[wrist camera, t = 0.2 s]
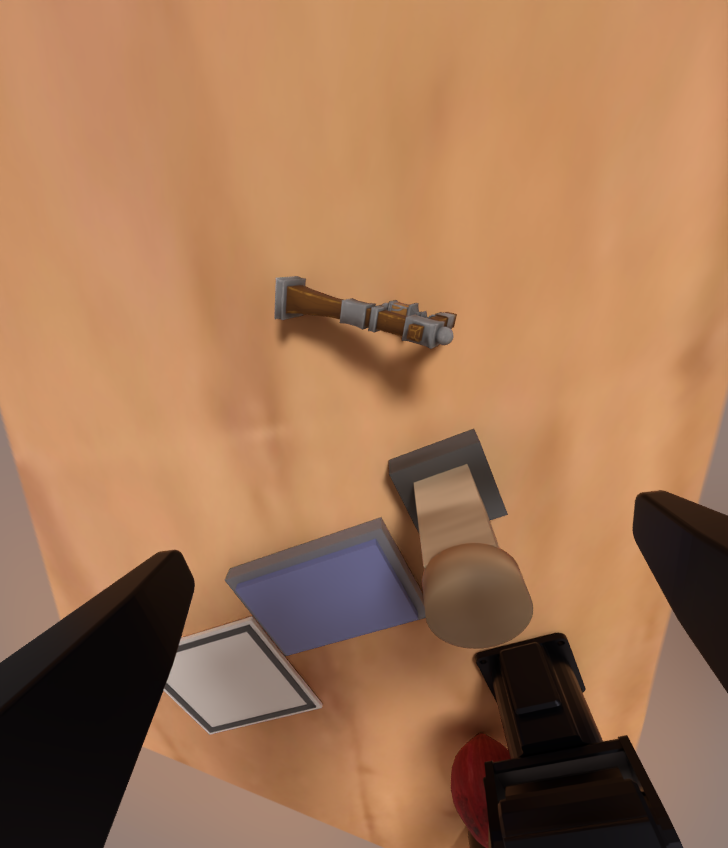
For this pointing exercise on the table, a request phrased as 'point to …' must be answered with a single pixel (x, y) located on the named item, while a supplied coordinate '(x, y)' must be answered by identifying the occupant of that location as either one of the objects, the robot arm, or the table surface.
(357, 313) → the wooden post with brackets
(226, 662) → the marked card
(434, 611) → the stamp
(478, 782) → the onion
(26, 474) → the table surface
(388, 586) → the ink pad
